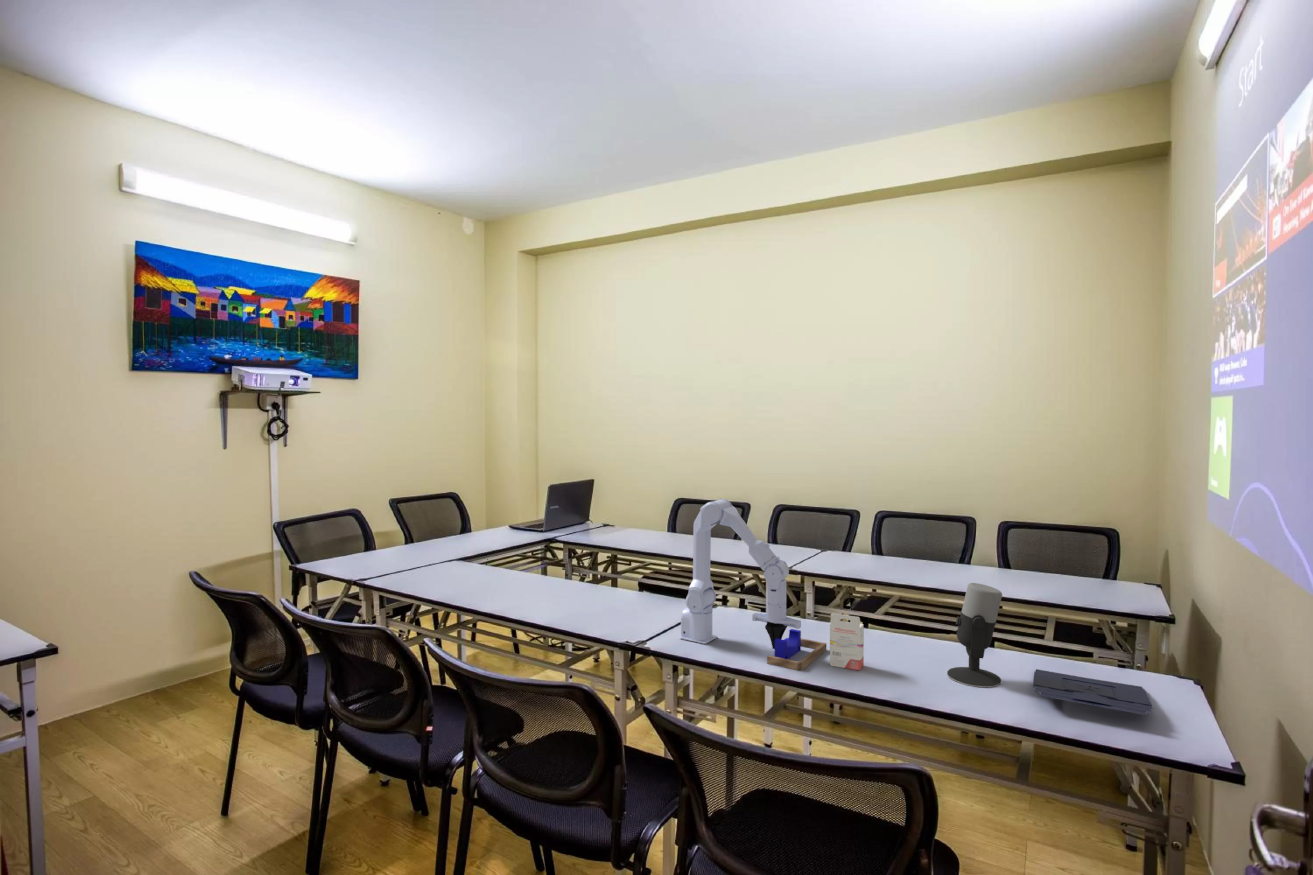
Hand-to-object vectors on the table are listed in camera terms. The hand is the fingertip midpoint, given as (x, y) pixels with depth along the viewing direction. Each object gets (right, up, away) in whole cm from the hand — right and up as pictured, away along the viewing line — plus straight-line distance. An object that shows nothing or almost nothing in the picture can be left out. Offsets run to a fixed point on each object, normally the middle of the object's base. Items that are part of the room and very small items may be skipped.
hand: (776, 648), depth 201 cm
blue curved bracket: (+2, -2, -2) cm, 3 cm away
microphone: (+49, -2, -19) cm, 53 cm away
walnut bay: (+6, -1, -4) cm, 7 cm away
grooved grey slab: (+72, -3, -32) cm, 79 cm away
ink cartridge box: (+18, -2, -11) cm, 21 cm away
